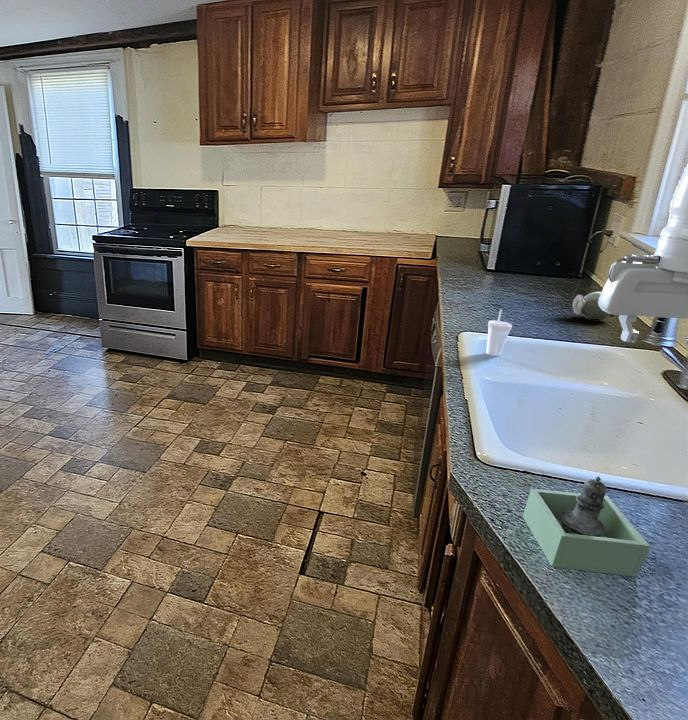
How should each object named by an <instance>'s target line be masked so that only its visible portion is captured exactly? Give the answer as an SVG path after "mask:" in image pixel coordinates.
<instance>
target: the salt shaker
mask: <svg viewBox="0 0 688 720" xmlns="http://www.w3.org/2000/svg"><path fill="white" fill-rule="evenodd" d="M601 480H602V479H601V477H600V476H599V475H598V476H597V477H595V479H594V478H593V479H592V478H591V479H587V480H585V481H584V483H583V486H582V489H581V492H580V493H579V494H580V495H578V496H577V497H576V500H577V504H576V507H575V509H574V510H567V511H564V512H562V513H561V520H562V527H563V530H564V532H565V533H569V534H578V535H587V536H595V537H600V536H601V535H603V534H604V533H605V532H606V528H605V526H604V525H603V523H602V522H601V521H599V520H598V515H599V512H600V510H602V509H603V508H604V504H603V503H602V502H603V499H604V496H606V493H607V486H606V484H605V483H603V482H602V481H601Z"/></svg>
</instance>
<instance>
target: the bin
mask: <svg viewBox="0 0 688 720" xmlns="http://www.w3.org/2000/svg"><path fill="white" fill-rule="evenodd" d="M580 494H581V493H578V492H567V491H557V490H548V489H537V488H530V491H529V494H528V496H527V497H528V498H527V500H526V503H525V508H524V511H523V514H522V518H523V520H524V521H525V523H526V525H527V527H528V528H529V530H530V532H531V533H532V535H533V537H534V539H535V541H536V542H537V544H538V545H539V548H540V549H541V551H542V552H543V554H544V556H545V557H546V559H547V561H548V563H549V564H550V566H551V567H552V568H559V569H569V570H575V571H576V570H577V571H583V572H593V573H601V574H608V575H618V576H626V577H633V578H638V577H639V574H640V572H641V570H642V567H643V565H644V562H645V560H646V557H647V555H648V552H649V551H650V549H651V545H650V544H649V543H648V541H647V540H646V539H645V538H644V537H643V536H642V535H641V533H640V532H639V531H638V530H637V528H636V527H635V526H634V525H633V524H632V522H630V520H629V519H628V518H627V517H626V516H625V515H624V514H623V512H622V511H621V510H620V509H619V508H618V507H617V505H616V504H615V503H614V502H613V501H612V500H611V498H610V497H609V496H606V495H605V496H604V499H603V502H602V503H603V504H604V508H603V509H602V510H600V512H599V515H598V520H599V521H601V522H602V523H603V525H604V526H605V528H606V532H605V533H604V534H603V535H601V536H600V537H595V536H587V535H578V534H569V533H565V532H564V530H563V527H562V520H561V513H562V512H564V511H567V510H574V509H575V507H576V504H577V500H576V497H577V496H578V495H580Z"/></svg>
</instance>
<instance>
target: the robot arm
mask: <svg viewBox="0 0 688 720" xmlns="http://www.w3.org/2000/svg"><path fill="white" fill-rule="evenodd" d="M669 209H670V210H669V218H668V221H667V223H666V224H665V226H664V228H663V229H662V230H661V232H660V234H659V237H658V241H657V244H656V247H655V250H654V253H653V255H635V254H626V255H624V256H623V257H620V258H618V259H616V260H615V261H613V262H612V263H611V265H610V268H609V272H608V278H607V279H606V282H605V283H604V286H603V287H602V290H601V291H600V292H601V295H600V297H599V300H598V305H599V307H600V308H601V309H602V310H603V311H605V312H607V313H609V314H613V315H614V316H618V321H619V323H620V326H621V328H622V331H621V334H620V340H621V341H622V342H624V343H625V342H626V343H636V342H637V341H638V337H639V335H640V332H639V331H637V330H635V329H634V327H633V323H635V322H637V319H638V317H648V318H649V317H650V318H667V319H684V320H685V319H686V320H688V163H687V164H686V166H685V168H684V170H683V172H682V173H681V176H680V178H679V180H678V184H676V188H675V191H674V194H673V196H672V199H671V202H670V206H669ZM684 343H685V344H686V345H688V333H687V335H686V338H685V339H684Z"/></svg>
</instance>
